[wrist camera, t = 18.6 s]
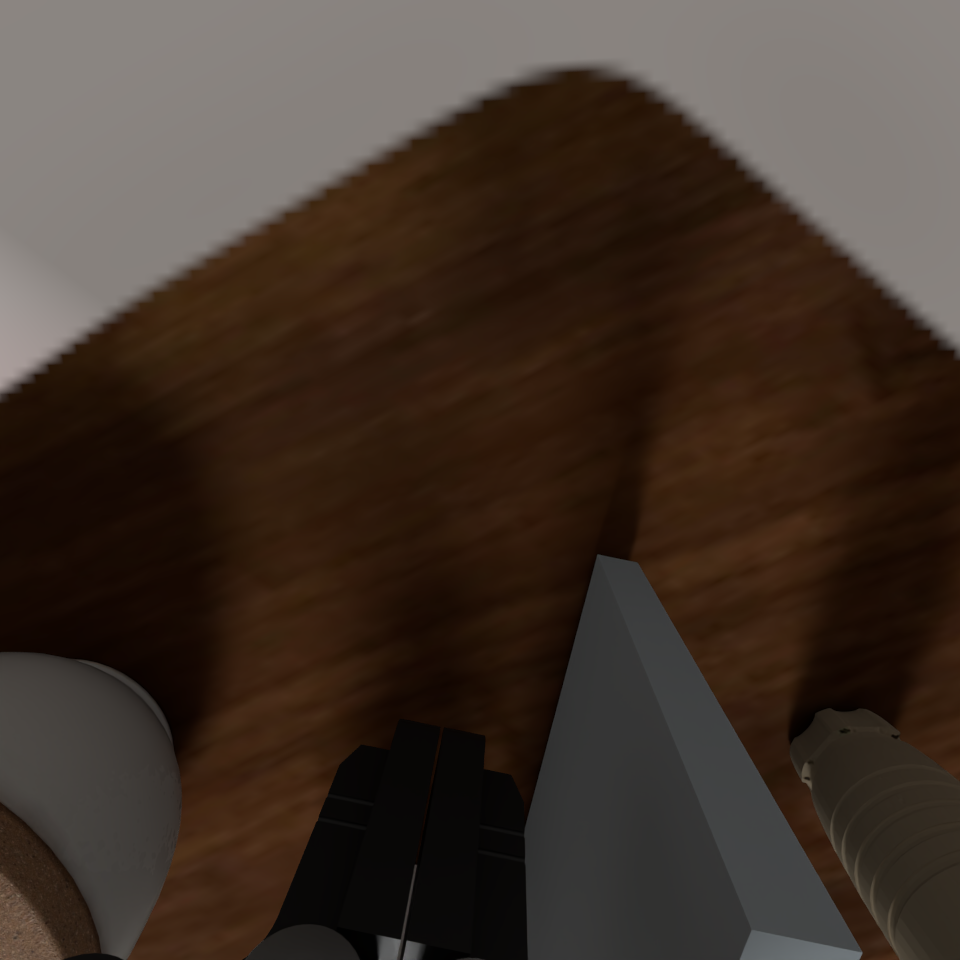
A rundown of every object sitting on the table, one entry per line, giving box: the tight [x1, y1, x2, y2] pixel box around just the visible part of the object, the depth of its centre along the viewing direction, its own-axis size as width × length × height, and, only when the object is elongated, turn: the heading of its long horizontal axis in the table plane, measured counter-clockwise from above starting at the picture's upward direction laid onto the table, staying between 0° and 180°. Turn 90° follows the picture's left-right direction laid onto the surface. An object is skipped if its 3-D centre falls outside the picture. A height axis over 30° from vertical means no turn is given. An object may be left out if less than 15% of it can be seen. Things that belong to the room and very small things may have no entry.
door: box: [524, 554, 862, 960], centre depth 13 cm, size 15×2×11 cm, turn 169°
